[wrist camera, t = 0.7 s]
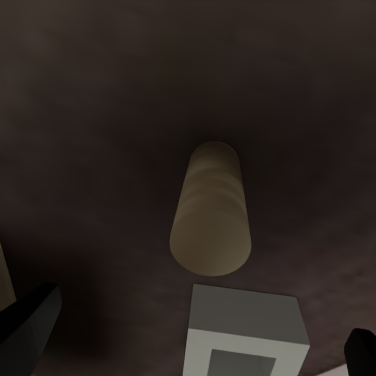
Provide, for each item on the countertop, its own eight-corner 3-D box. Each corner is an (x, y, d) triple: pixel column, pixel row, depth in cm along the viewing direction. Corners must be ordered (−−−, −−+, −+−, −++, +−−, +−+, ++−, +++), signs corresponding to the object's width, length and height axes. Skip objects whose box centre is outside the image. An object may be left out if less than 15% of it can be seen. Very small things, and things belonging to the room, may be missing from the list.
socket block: (296, 297, 25) (310, 345, 21) (274, 360, 29) (282, 410, 25) (193, 283, 26) (188, 328, 22) (186, 347, 30) (180, 394, 26)
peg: (243, 143, 20) (258, 216, 12) (235, 189, 21) (243, 280, 13) (191, 138, 20) (171, 206, 12) (187, 184, 21) (167, 270, 13)
